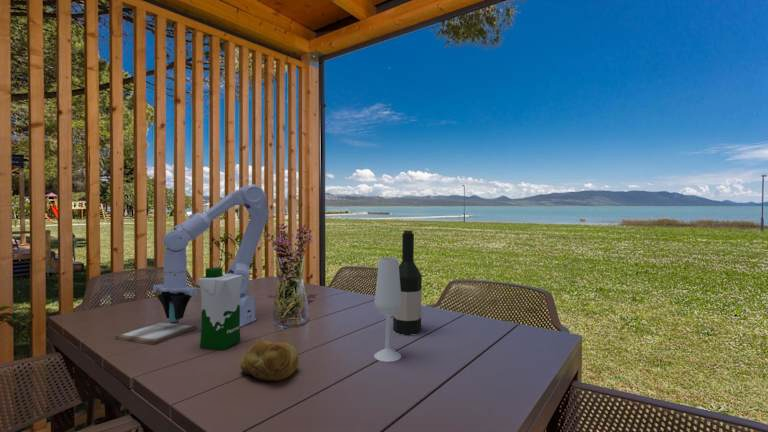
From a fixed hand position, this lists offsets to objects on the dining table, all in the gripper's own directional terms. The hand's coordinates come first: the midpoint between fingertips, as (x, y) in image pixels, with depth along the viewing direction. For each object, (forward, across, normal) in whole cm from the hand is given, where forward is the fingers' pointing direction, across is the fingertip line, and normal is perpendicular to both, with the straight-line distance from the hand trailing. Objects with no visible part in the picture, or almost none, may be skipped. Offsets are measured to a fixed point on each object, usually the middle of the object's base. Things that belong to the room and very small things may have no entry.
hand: (174, 318), depth 105 cm
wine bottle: (+4, +64, +23) cm, 68 cm away
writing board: (+4, -3, -3) cm, 6 cm away
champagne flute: (+4, +64, +3) cm, 64 cm away
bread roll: (+4, +42, -14) cm, 45 cm away
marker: (+1, 0, 0) cm, 1 cm away
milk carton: (+4, +20, -4) cm, 21 cm away
